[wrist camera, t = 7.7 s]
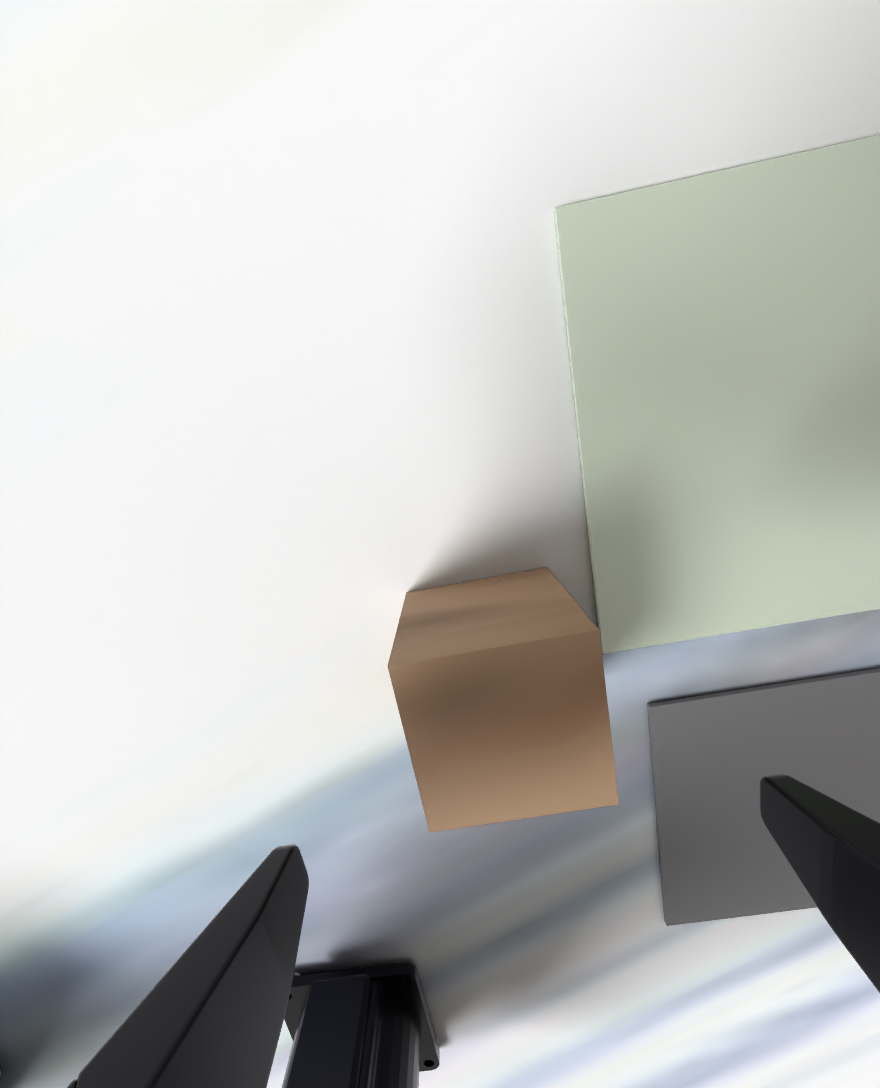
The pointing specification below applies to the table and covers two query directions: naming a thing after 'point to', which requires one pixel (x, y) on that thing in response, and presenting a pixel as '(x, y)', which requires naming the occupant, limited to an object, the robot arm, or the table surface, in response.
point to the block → (502, 701)
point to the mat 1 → (729, 394)
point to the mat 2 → (754, 785)
